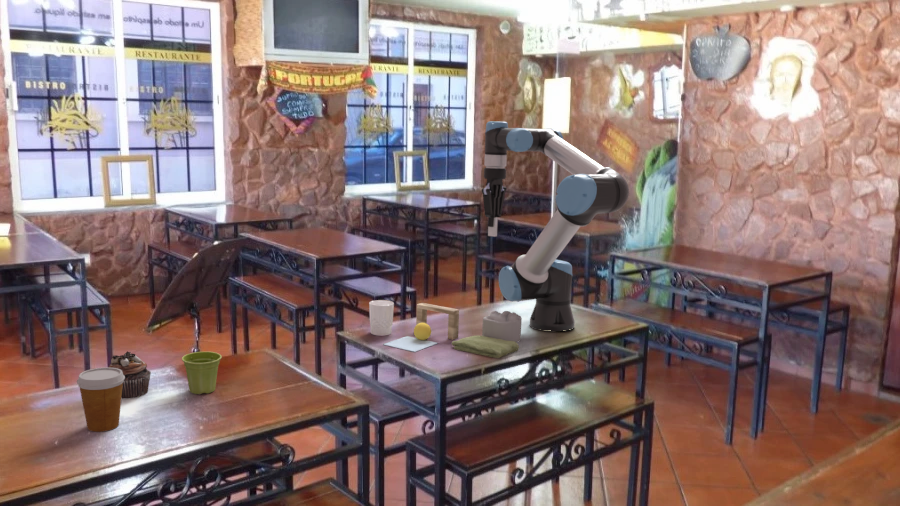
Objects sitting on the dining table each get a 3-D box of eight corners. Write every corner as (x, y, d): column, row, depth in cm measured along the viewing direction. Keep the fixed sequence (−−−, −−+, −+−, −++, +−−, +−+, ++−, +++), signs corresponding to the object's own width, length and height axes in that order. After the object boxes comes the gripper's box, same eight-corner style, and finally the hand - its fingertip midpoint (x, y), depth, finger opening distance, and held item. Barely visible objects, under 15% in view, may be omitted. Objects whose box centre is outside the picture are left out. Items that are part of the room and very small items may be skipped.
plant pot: (229, 387, 197) (229, 354, 196) (206, 399, 188) (206, 364, 187) (198, 382, 200) (197, 349, 199) (174, 393, 191) (173, 359, 190)
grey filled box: (477, 339, 248) (478, 313, 246) (503, 332, 257) (504, 306, 256) (502, 346, 241) (504, 319, 239) (528, 339, 250) (529, 312, 249)
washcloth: (473, 340, 248) (473, 331, 247) (521, 351, 238) (521, 341, 237) (448, 349, 237) (449, 339, 237) (497, 361, 227) (498, 350, 227)
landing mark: (437, 343, 242) (437, 342, 242) (414, 352, 232) (414, 351, 232) (407, 336, 248) (407, 336, 248) (383, 344, 238) (383, 344, 238)
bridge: (421, 329, 257) (422, 302, 255) (458, 337, 249) (459, 309, 247) (416, 331, 254) (416, 304, 253) (452, 339, 246) (453, 311, 245)
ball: (431, 320, 243) (421, 332, 240) (436, 333, 246) (427, 345, 243) (417, 317, 246) (408, 329, 243) (423, 330, 249) (413, 341, 246)
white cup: (395, 330, 255) (395, 300, 253) (391, 337, 247) (391, 306, 246) (371, 329, 256) (371, 299, 254) (366, 335, 248) (366, 305, 246)
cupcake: (132, 402, 185) (130, 361, 183) (100, 396, 188) (98, 356, 187) (160, 389, 194) (158, 351, 192) (128, 384, 197) (127, 346, 196)
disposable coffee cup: (88, 418, 175) (86, 366, 173) (132, 418, 175) (130, 366, 173) (72, 435, 165) (69, 380, 163) (118, 434, 166) (116, 380, 164)
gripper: (495, 166, 273) (492, 233, 277) (475, 167, 262) (473, 236, 266) (514, 167, 269) (511, 235, 273) (494, 168, 258) (491, 239, 262)
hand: (492, 235), depth 269 cm, fingers closed
